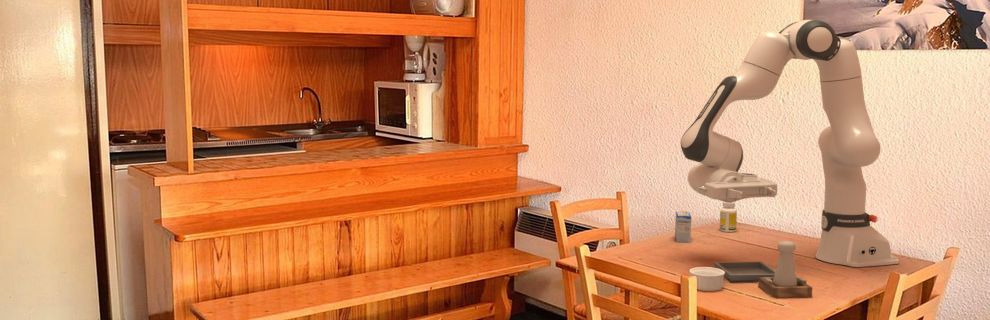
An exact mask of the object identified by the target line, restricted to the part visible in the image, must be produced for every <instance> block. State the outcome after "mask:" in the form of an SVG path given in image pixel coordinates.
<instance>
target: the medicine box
mask: <svg viewBox="0 0 990 320" xmlns="http://www.w3.org/2000/svg"><path fill="white" fill-rule="evenodd" d="M690 212H691V211H688V210H687V211H686V210H676V211H675V227H674V228H675V229H674V237H675V241H676V243H685V244H686V243H691V240H692V239H691V237H692V236H691V235H692V233H691V232H692V216H691V214H690Z"/></svg>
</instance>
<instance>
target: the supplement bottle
mask: <svg viewBox="0 0 990 320" xmlns="http://www.w3.org/2000/svg"><path fill="white" fill-rule="evenodd" d="M735 207H736V201H735V202H733V203H727V202H723V201H722V208H720V212H719V213H720V214H719V231H721V232H723V233H734V232H737V221H738V219H737V218H738V217H737V216H738V211H737V209H736V208H735Z"/></svg>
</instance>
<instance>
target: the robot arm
mask: <svg viewBox="0 0 990 320" xmlns="http://www.w3.org/2000/svg"><path fill="white" fill-rule="evenodd" d="M792 59H794V60H804V61H807V60H808V61H809V60H813V61H814V62H815V63H816V65H817V68H818V70H819V71H818V73H819V74H818V75H819V83H820V92H821V93H820V94H821V100H822V108H823V111H824V112H825V114H826V117H827V119H828V122H829V126H827V127H826V128H824V129H823V130H822V131H821V132H820V134H819V136H818V140H817V142H818V147H819V149H820V153H821V162H822V169H823V170H822V171H823V176H824V202H823V204H824V205H823V209H822V210H821V211H822V212H821V235H820V239H819V244H818V248H817V250H816V251H817V252H816V254H815V259H818V260H820V261H823V262H826V263H830V264H835V265H843V266H848V267H852V268H853V267H854V268H861V267H862V268H864V267H875V266H876V267H877V266H886V265H887V266H888V265H898V264H900V260H899V258H898V257H897V256H895V255H894V254H892V253H891V251H892V249H891V244H890V242H889V240H888V238H887V237H885V236H884V235H883V234H882V233H880V232H879V231H878V230H877V229H876V228H874V227H873V226H872V225H871V223H874V224H876V223H877V222H879V217H878V216H877V215H875V214H869V213H868V212H866V204H867V203H866V199H867V198H866V197H867V184H866V182H865V179H864V175H863V169H862V168H864V167H867V166H870V165H872V164H874V163H875V162H876V161H877V159H878V158H879V156H880V154H881V144H880V141H879V139H878V137H877V136H876V134H875V132H874V130H873V126H872V122H871V120H870V117H869V112H868V110H867V106H866V101H865V94H864V84H863V77H862V76H863V75H862V68H861V65H860V64H861V63H860V59H859V55H858V52H857V48H856V46H855V44H854V42H852V41H851V40H847V39H843V38H840V37H839V36H838V35H837V33H836V31H835V30H834V28H833V27H832V26H831V25H830V24H829V23H827V22H825V21H823V20H820V19H804V20H803V19H802V20H800V21H795V22H792V23H790V24H788V25H786V26H785V27H784V28H782V29H781V30H780V31H779V32H778V31H773V30H768V31H763V32H761V33H760V34H758V36H757V37H756V39H755V41H753V43H752V44H751V45H750V48H749V49H748V51H747V53H746V55H745V57H744V59H743V61H742V64H741V65H740V67H739V68H738V69H737V70H736V71H735V73H733V74H732V75H730V76H726V77H725V78H723V80H722V81H720V83H719V84H718V86H717V87H716V88H715V90H714V91H713V92H712V94H711V96H710V97H709V99H708V100H707V102H706V104H705V105H704V106H703V108H702V110H701V111H700V112H699V114H698V116H696V118H695V120H694V121H693V123H692V124H691V125H690V126H688V128H687V129H686V130H685V132H684V133H683V134H682V137H681V139H680V148H681V152H682V154H683V156H684V157H685V158H686V159H687V160H689V161H693V162H696V163H698V164H696V165H694V166H693V167H691V168H690V169H689V171H688V174H687V182H688V184H689V186H690V188H691V189H692V190H693V191H694V192H695V193H697V194H700V195H702V196H705V197H707V198H710V199H712V200H717V201H721V202H722V203H723V202H727V203H733V202H735V203H736V202H737V201H742V200H744V199H751V198H752V199H753V198H775V197H777V195H778V184H777V183H776V182H775V181H772V180H769V179H766V178H763V177H758V175H757V174H754V173H748V172H747V173H744V172H739V171H740V169H741V166H742V163H743V161H744V150H743V147H742V144H741V143H740V142H739V141H737V140H736V139H732V138H731V137H728V136H726V135H723V134H721V133H718V132H717V131H714V128H715V125H716V124H717V122H718V121H719V119H720V118H721V117H722V115H723V113H724V112H725V110H726V109H727V107H728V106H729V105H731V104H732V103H734V102H736V101H755V100H760V99H764V98H766V97H768V96H769V95H771V94H772V92H773V91H774V89H776V86H777V84H778V82H779V80H780V77H781V76H782V73H783V71H784V68H785V67H786V65H787V64H788V62H790V61H791V60H792Z"/></svg>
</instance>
